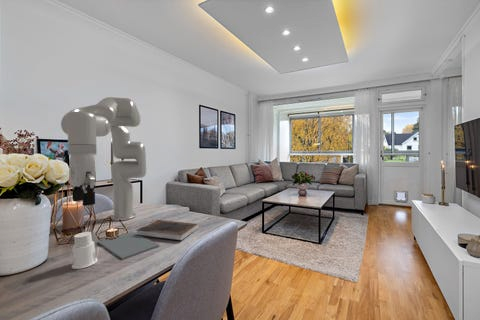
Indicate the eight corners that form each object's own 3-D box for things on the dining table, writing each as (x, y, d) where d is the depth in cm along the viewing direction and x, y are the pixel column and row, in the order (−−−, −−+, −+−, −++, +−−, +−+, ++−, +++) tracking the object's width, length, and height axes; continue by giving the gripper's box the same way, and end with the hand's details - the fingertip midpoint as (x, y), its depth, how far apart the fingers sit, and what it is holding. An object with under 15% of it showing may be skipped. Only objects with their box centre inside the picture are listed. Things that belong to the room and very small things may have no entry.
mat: (97, 242, 89) (97, 241, 89) (132, 233, 100) (132, 231, 100) (122, 259, 76) (122, 258, 76) (159, 246, 87) (159, 244, 87)
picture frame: (136, 235, 96) (181, 241, 91) (136, 229, 96) (181, 235, 91) (158, 224, 112) (198, 228, 107) (158, 219, 112) (198, 223, 107)
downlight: (101, 256, 78) (99, 228, 77) (96, 266, 71) (94, 236, 71) (74, 261, 75) (72, 232, 75) (66, 272, 68) (63, 240, 68)
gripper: (60, 150, 74) (61, 200, 75) (77, 150, 63) (78, 209, 64) (86, 150, 80) (87, 197, 81) (106, 150, 69) (107, 204, 70)
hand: (83, 202), depth 72 cm, fingers open, 9 cm apart
